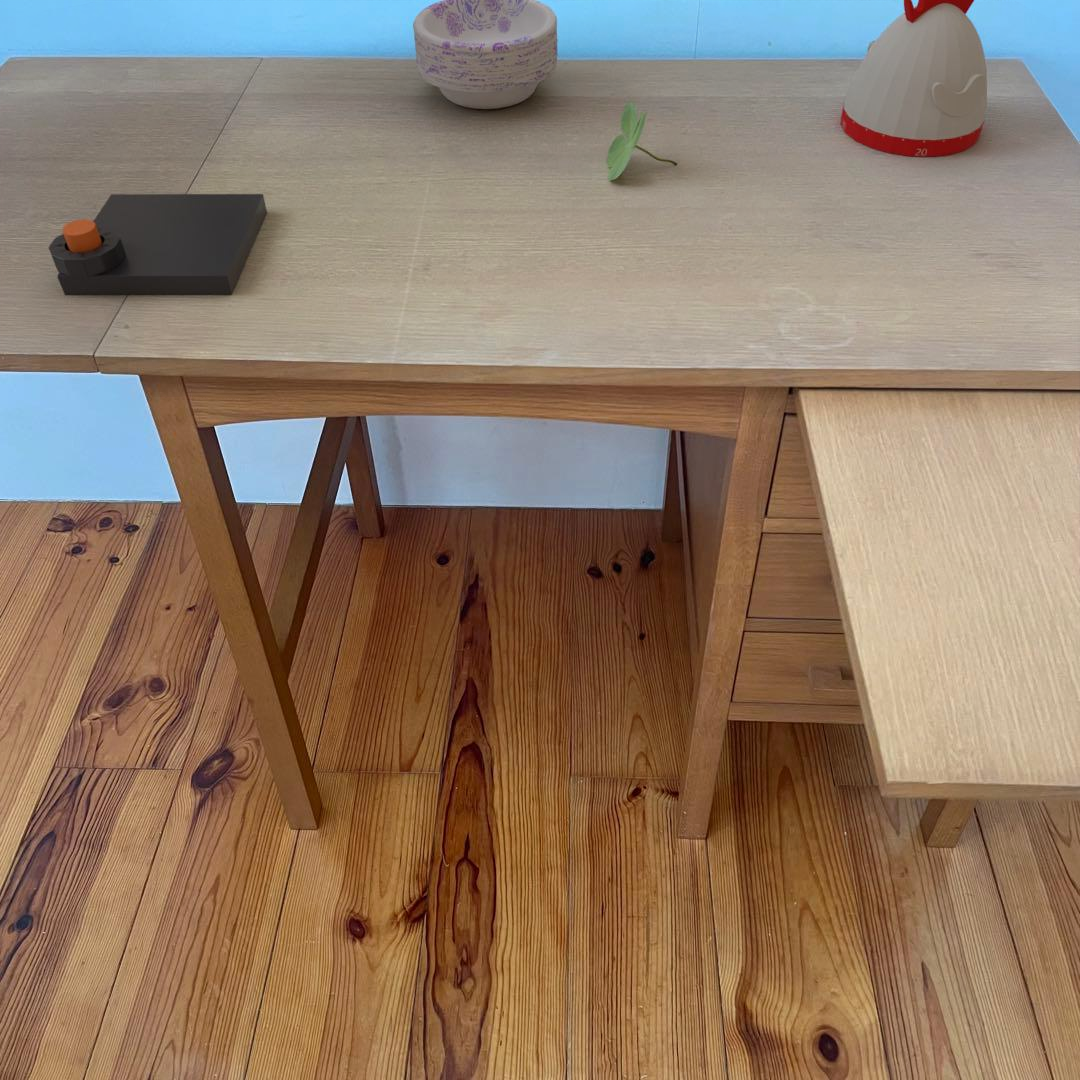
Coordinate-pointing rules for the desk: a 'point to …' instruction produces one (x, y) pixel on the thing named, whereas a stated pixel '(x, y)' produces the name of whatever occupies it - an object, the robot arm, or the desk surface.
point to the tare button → (81, 236)
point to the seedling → (627, 141)
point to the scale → (164, 245)
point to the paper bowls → (486, 49)
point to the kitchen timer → (920, 84)
